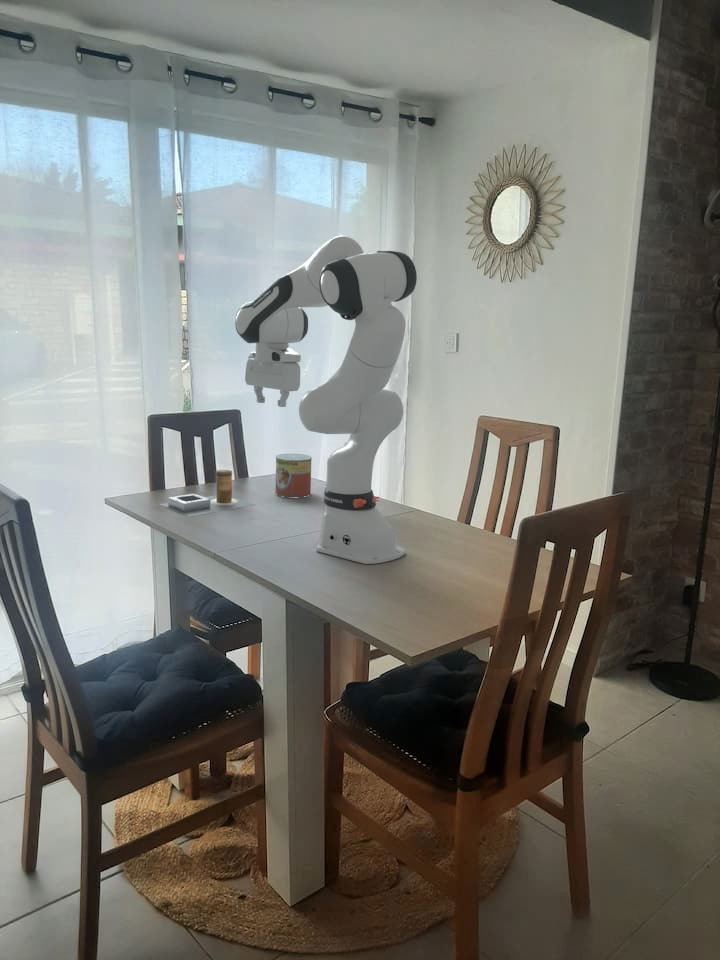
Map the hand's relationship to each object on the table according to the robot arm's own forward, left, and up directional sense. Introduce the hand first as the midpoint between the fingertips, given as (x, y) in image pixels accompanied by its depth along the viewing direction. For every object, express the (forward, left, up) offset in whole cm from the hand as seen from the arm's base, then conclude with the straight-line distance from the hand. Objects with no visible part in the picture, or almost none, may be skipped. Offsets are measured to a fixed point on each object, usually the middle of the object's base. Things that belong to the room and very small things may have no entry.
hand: (271, 404), depth 198 cm
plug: (+15, +5, -30) cm, 34 cm away
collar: (+16, +16, -30) cm, 37 cm away
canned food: (+15, -21, -31) cm, 41 cm away
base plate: (+15, +11, -31) cm, 36 cm away
